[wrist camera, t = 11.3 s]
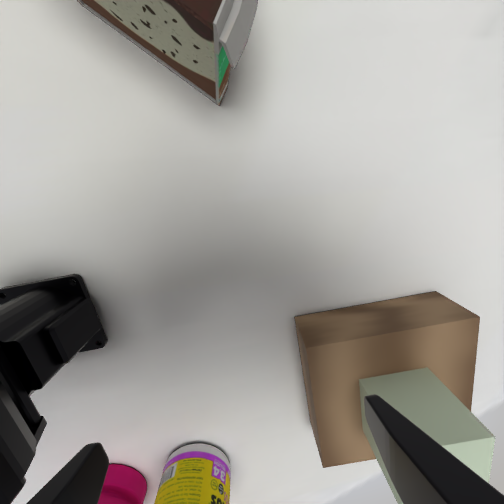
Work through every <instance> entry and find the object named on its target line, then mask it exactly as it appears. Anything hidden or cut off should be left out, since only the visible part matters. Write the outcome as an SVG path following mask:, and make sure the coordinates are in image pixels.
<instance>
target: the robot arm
mask: <svg viewBox="0 0 504 504" xmlns="http://www.w3.org/2000/svg"><path fill="white" fill-rule="evenodd" d="M72 279H73V280H75V282H76V283H74V282H73V281H72ZM4 294H5V295H4ZM99 341H101V342H102V343H101V342H99ZM106 343H107V338H106V335H105V333H104V330H103V328H102V325H101V323H100V320H99V318H98V316H97V313H96V311H95V308H94V306H93V304H92V301H91V299H90V297H89V295H88V292H87V290H86V287H85V285H84V283H83V280H82V278H81V277H80V276H79V275H76V274H73V275H68V276H63V277H57V278H52V279H47V280H41V281H36V282H31V283H25V284H20V285H15V286H9V287H4V288H2V289H0V504H11V503H12V502H13V500H14V499H15V498H16V496H17V495H18V494H19V492H20V491H21V489H22V488H23V486H24V484H25V482H26V479H25V477H24V476H25V474H26V472H27V470H28V468H29V466H30V464H31V462H32V460H33V458H34V456H35V451H36V446H37V444H38V442H39V440H40V438H41V435H42V433H43V431H44V429H45V427H46V424H47V422H46V420H45V419H44V417H43V416H40V414H39V412H38V411H37V409H36V407H35V405H34V404H33V402H32V400H31V398H30V397H29V396H30V395H31V394H32V393H33V392H34V391H35V390H38V389H41V388H42V387H43V386H44V385H45V384H46V383H47V382H48V381H49V380H50V379H51V378H52V377H53V376H54V375H55V374H56V373H57V372H58V371H59V370H60V369H61V368H62V367H63V366H64V365H65V364H66V363H68V362H70V360H71V359H72V358H73V357H74V356H75V355H76V354H77V353H78V352H83V351H88V350H94V349H99V348H103V347H104V346H105V345H106ZM364 407H365V417H366V420H367V423H368V426H369V428H370V430H371V433H372V435H373V438H374V440H375V443H376V445H377V447H378V450H379V452H380V455H381V457H382V460H383V462H384V464H385V467H386V469H387V472H388V474H389V476H390V479H391V481H392V483H393V485H394V487H395V489H396V491H397V493H398V495H399V497H400V498H401V500H402V502H403V504H504V495H503V494H501V493H500V492H499V491H497V490H496V489H495V488H494V487H493V486H491V485H490V484H489V483H488V482H486V481H485V480H484V479H483V478H481V477H480V476H479V475H478V474H476V473H475V472H474V471H473V470H471V469H470V468H469V467H468V466H466V465H465V464H464V463H463V462H461V461H460V460H459V459H457V458H456V457H455V456H454V455H452V454H451V453H450V452H449V451H447V450H446V449H445V448H444V447H442V446H441V445H440V444H439V443H437V442H436V441H435V440H434V439H432V438H431V437H430V436H429V435H427V434H426V433H425V432H424V431H422V430H421V429H420V428H419V427H417V426H416V425H415V424H414V423H412V422H411V421H410V420H409V419H407V418H406V417H405V416H404V415H402V414H401V413H400V412H399V411H397V410H396V409H395V408H394V407H392V406H391V405H390V404H389V403H387V402H386V401H385V400H384V399H382V398H381V397H380V396H378V395H376V394H373V395H368V396H365V397H364ZM108 466H109V459H108V456H107V454H106V452H105V450H104V448H103V446H102V445H101V443H92V444H88V445H86V446H85V447H84V448H83V449H81V450H80V451H79V452H78V453H77V454H76V455H75V456H74V457H73V458H72V459H71V460H70V461H69V462H68V463H67V464H66V465H65V466H64V467H63V468H62V469H61V470H60V471H59V472H58V473H57V474H56V475H55V476H54V477H53V478H52V479H51V480H50V481H49V482H48V483H47V484H46V485H45V486H44V487H43V488H42V489H41V490H40V491H39V492H38V493H37V494H36V495H35V496H34V497H33V498H32V499H31V500H30V501H29V502H28V503H27V504H98V501H99V498H100V494H101V491H102V487H103V484H104V480H105V477H106V474H107V470H108Z"/></svg>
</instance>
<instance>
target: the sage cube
mask: <svg viewBox="0 0 504 504" xmlns="http://www.w3.org/2000/svg"><path fill="white" fill-rule="evenodd" d="M359 386H360V400H361V414H362V427H363V432H364V434H365V436H366V438H367V440H368V442H369V444H370V446H371V448H372V450H373V453H374V455H375V457H376V459H377V461H378V463H379V465H380V467H381V469H382V471H383V474H384V475H385V478H386V480H387V482H388V484H389V486H390V488H391V490H392V492H393V494H394V497H395V499H396V501H397V503H398V504H403V502H402V500H401V498H400V497H399V495H398V493H397V491H396V489H395V487H394V485H393V483H392V481H391V479H390V476H389V474H388V472H387V469H386V467H385V464H384V462H383V460H382V457H381V455H380V452H379V450H378V447H377V445H376V443H375V440H374V438H373V435H372V433H371V430H370V428H369V426H368V423H367V420H366V417H365V407H364V397H365V396H368V395H373V394H376V395H378V396H380V397H381V398H382V399H384V400H385V401H386V402H387V403H389V404H390V405H391V406H392V407H394V408H395V409H396V410H397V411H399V412H400V413H401V414H402V415H404V416H405V417H406V418H407V419H409V420H410V421H411V422H412V423H414V424H415V425H416V426H417V427H419V428H420V429H421V430H422V431H424V432H425V433H426V434H427V435H429V436H430V437H431V438H432V439H434V440H435V441H436V442H437V443H439V444H440V445H441V446H442V447H444V448H445V449H446V450H447V451H449V452H450V453H451V454H452V455H454V456H455V457H456V458H457V459H459V460H460V461H461V462H463V463H464V464H465V465H466V466H468V467H469V468H470V469H471V470H473V471H474V472H475V473H476V474H478V475H479V476H480V477H481V478H483V479H484V480H485V481H486V482H488V483H489V478H490V471H491V463H492V457H493V449H494V442H495V436H494V435H493V434H492V433H491V432H490V431H489V430H488V429H487V428H486V427H485V426H484V425H483V424H482V423H481V422H480V421H479V420H478V419H477V418H476V417H475V416H474V415H473V414H472V413H471V411H470V410H469V409H468V408H467V407H466V406H465V405H464V404H463V403H462V402H461V401H460V400H459V399H458V398H457V397H456V396H455V395H454V394H453V393H452V392H451V391H450V390H449V389H448V388H447V387H446V386H445V385H444V384H443V383H442V382H441V381H440V380H439V379H438V378H437V377H436V376H435V375H434V374H433V373H432V372H431V371H430V370H429V369H428V367H427V368H421V369H416V370H410V371H404V372H399V373H393V374H387V375H382V376H376V377H370V378H365V379H359Z"/></svg>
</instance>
